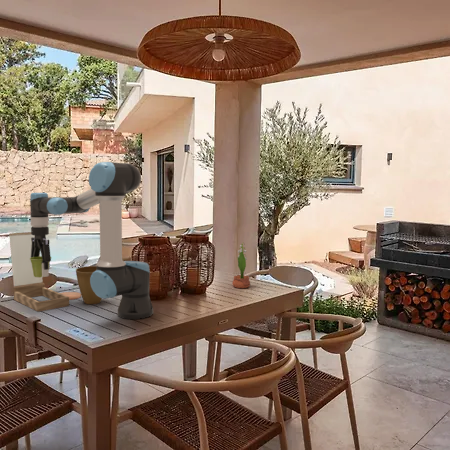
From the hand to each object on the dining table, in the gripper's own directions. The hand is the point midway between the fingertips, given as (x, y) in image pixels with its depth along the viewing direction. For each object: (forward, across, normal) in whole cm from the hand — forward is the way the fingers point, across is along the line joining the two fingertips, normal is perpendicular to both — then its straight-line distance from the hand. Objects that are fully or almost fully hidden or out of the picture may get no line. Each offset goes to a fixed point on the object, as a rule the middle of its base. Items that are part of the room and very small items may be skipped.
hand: (41, 275), depth 209 cm
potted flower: (+14, -38, -96) cm, 104 cm away
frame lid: (-6, +16, 0) cm, 17 cm away
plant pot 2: (+14, -14, -18) cm, 27 cm away
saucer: (+13, +2, -14) cm, 19 cm away
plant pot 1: (+1, 0, 0) cm, 1 cm away
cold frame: (+13, 0, 0) cm, 13 cm away
